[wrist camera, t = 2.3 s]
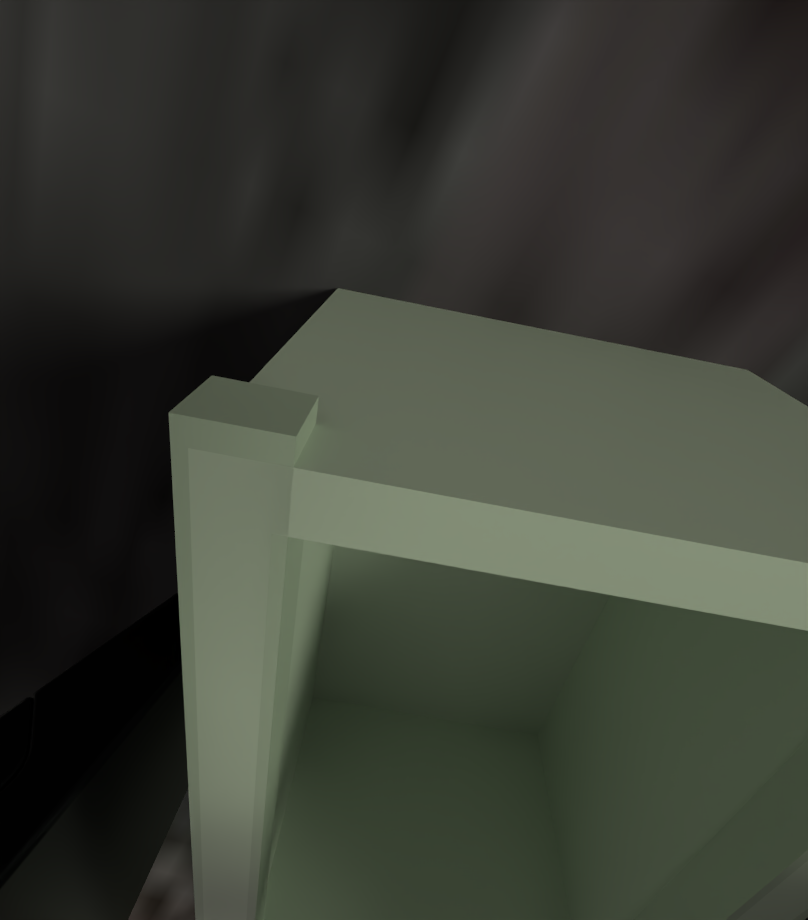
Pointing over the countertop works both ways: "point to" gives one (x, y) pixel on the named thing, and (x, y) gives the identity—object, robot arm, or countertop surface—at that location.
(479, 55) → the countertop surface
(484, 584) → the crate
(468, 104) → the countertop surface
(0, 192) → the countertop surface
